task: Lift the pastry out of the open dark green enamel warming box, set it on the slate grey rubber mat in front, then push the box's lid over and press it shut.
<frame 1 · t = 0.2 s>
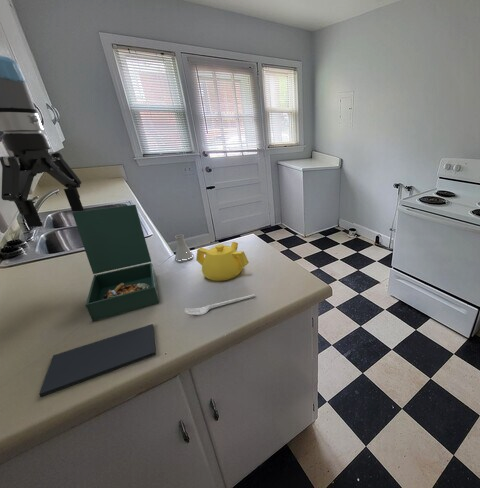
hand: (58, 218, 73), 27 cm above the countertop, tool pointing down, fingers open, 13 cm apart
white spoon: (222, 306, 81), on the countertop
box lid: (114, 238, 89), point 16 cm above the countertop, hinge at 100.0°
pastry: (127, 294, 86), resting on warming box
teapot: (227, 270, 102), on the countertop
warming box: (128, 296, 86), on the countertop
trivet mat: (105, 356, 63), on the countertop
flask: (184, 258, 111), on the countertop
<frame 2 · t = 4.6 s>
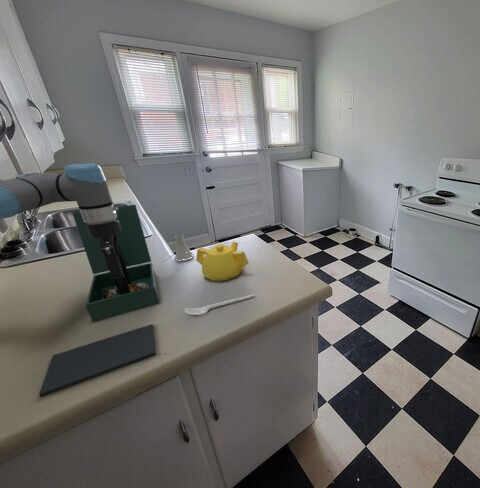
hand: (126, 290, 85), 2 cm above the countertop, tool pointing down, fingers closed on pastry, 7 cm apart
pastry: (127, 294, 86), resting on warming box, touching gripper
everything else where it was.
when the fingers open (3 cm above the countertop, at t = 11.9 s): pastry stays where it is, resting on trivet mat.
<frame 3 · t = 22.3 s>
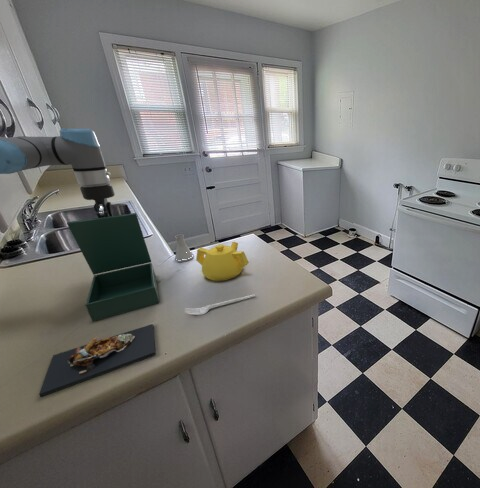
hand: (119, 255, 90), 10 cm above the countertop, tool pointing down, fingers closed
box lid: (114, 244, 85), point 16 cm above the countertop, hinge at 72.2°, touching gripper, hand
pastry: (104, 352, 64), point 1 cm above the countertop, touching trivet mat
everything else where it was.
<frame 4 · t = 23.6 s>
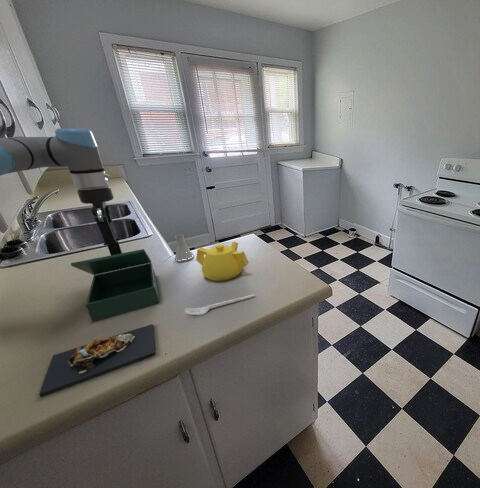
hand: (119, 261, 86), 10 cm above the countertop, tool pointing down, fingers closed
box lid: (117, 262, 83), point 11 cm above the countertop, hinge at 32.6°
everything else where it was.
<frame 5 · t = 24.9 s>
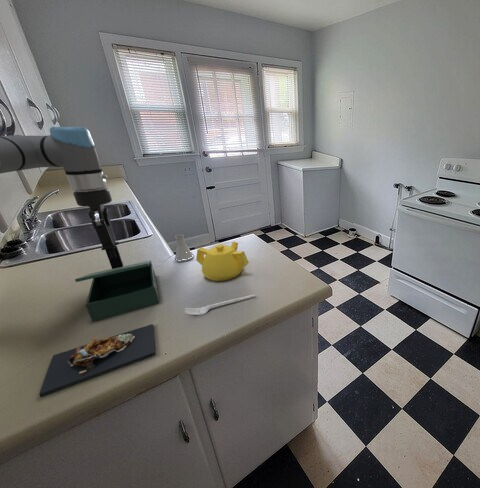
hand: (117, 266, 82), 11 cm above the countertop, tool pointing down, fingers closed
box lid: (119, 269, 83), point 10 cm above the countertop, hinge at 20.3°
everything else where it was.
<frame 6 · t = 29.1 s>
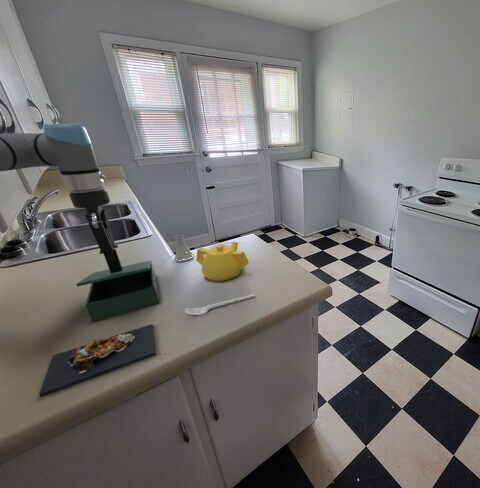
hand: (116, 271, 78), 11 cm above the countertop, tool pointing down, fingers closed
box lid: (119, 271, 83), point 9 cm above the countertop, hinge at 16.8°, touching gripper
everything else where it was.
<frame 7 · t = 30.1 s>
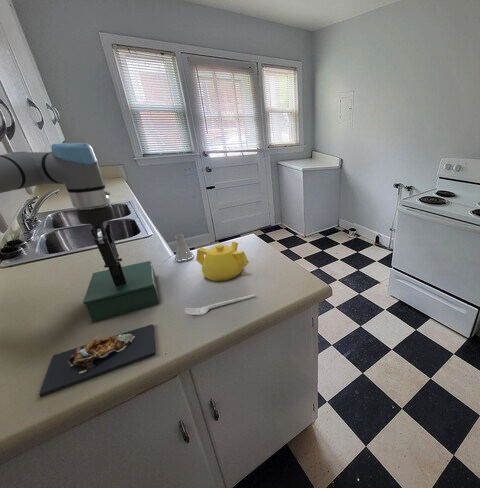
hand: (120, 283, 80), 7 cm above the countertop, tool pointing down, fingers closed
box lid: (122, 279, 83), point 6 cm above the countertop, hinge at 1.7°, touching gripper
everything else where it was.
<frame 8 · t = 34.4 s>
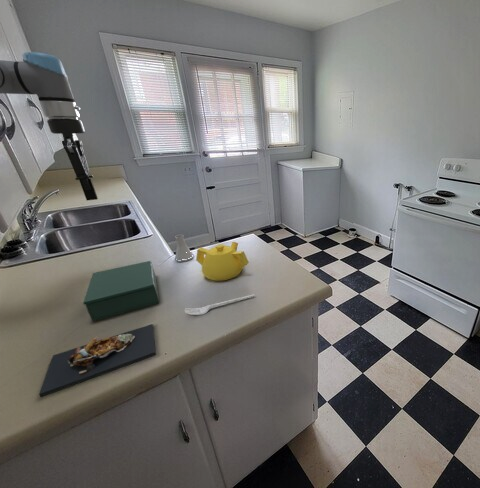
hand: (92, 199, 87), 28 cm above the countertop, tool pointing down, fingers closed
box lid: (122, 279, 83), point 6 cm above the countertop, hinge at 1.6°
everything else where it was.
at the end: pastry inside the target area on the trivet mat (0.7 cm from its centre), point 0.6 cm above the trivet mat's base; box lid at +2° (first picture: +100°) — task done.
